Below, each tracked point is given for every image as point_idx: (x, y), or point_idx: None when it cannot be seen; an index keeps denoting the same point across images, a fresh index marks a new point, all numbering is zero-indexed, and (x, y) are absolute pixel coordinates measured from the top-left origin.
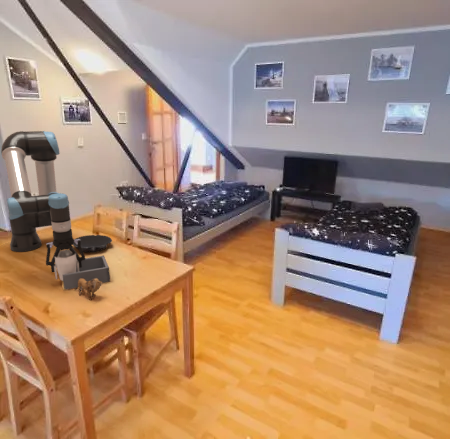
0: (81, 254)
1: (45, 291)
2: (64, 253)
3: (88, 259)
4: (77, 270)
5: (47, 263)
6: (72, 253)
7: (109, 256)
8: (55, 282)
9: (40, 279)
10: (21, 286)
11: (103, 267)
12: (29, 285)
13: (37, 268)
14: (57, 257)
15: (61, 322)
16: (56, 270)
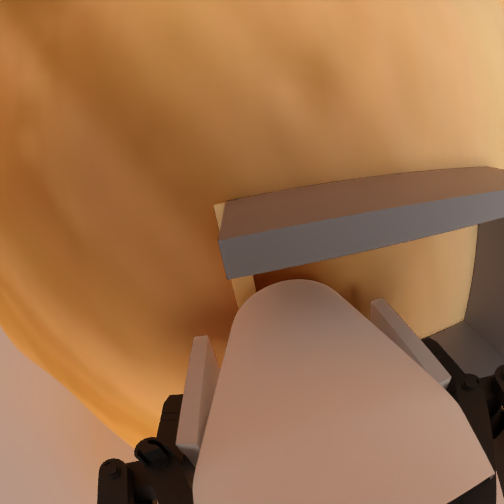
0: (496, 453)
1: (169, 388)
2: (353, 460)
3: (500, 214)
4: (382, 325)
5: (142, 502)
6: (466, 426)
7: (480, 22)
8: (194, 307)
9: (79, 239)
10: (29, 305)
11: (502, 235)
12: (56, 306)
13: (36, 65)
14: (209, 471)
15: None
16: (205, 383)
